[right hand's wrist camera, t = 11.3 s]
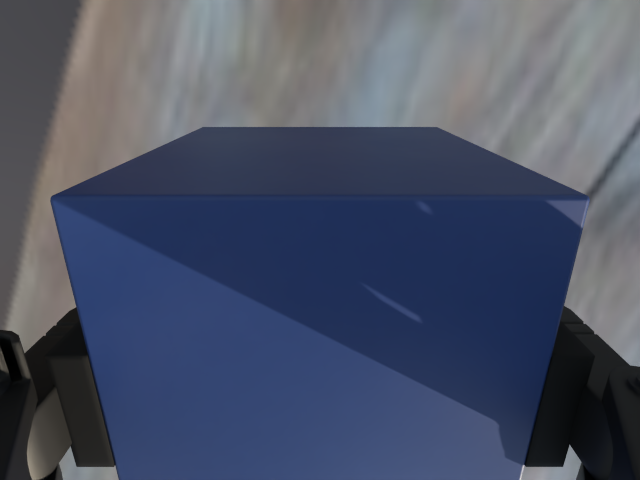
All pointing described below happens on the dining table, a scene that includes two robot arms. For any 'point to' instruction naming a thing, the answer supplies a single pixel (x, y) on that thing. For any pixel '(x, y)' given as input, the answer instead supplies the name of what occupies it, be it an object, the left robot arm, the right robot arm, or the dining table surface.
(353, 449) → the block
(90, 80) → the dining table surface
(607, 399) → the right robot arm
